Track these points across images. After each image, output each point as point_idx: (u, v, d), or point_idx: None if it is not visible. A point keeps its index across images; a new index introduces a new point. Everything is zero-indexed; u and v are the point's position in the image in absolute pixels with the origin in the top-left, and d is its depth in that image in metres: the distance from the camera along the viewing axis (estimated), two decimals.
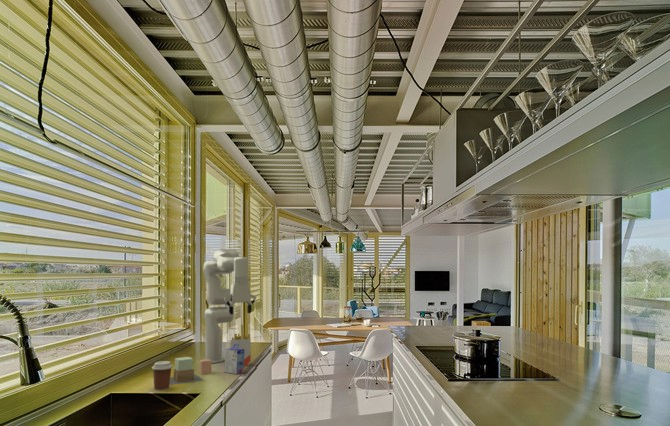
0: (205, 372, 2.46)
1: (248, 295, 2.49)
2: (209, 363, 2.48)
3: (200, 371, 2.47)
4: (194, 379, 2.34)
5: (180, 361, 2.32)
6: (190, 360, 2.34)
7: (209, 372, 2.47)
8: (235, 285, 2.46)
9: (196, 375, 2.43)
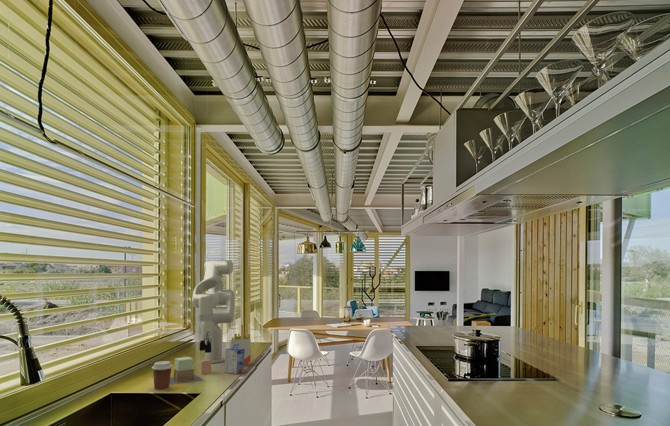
0: (205, 372, 2.46)
1: None
2: (209, 363, 2.48)
3: (200, 371, 2.47)
4: (194, 379, 2.34)
5: (180, 361, 2.32)
6: (190, 360, 2.34)
7: (209, 372, 2.47)
8: (211, 322, 2.49)
9: (196, 375, 2.43)
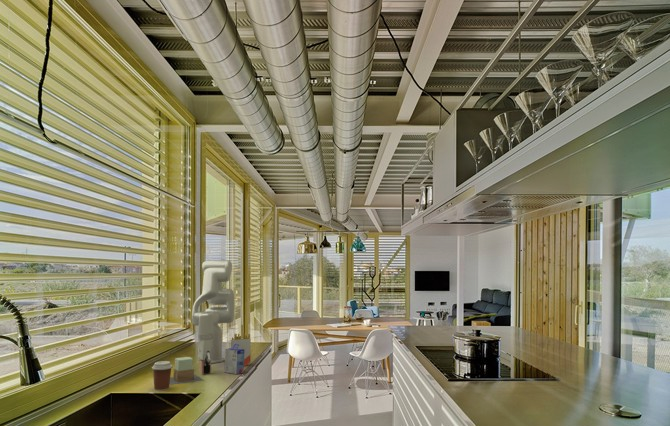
0: None
1: None
2: None
3: (200, 371, 2.47)
4: (194, 379, 2.34)
5: (180, 361, 2.32)
6: (190, 360, 2.34)
7: None
8: None
9: (196, 375, 2.43)
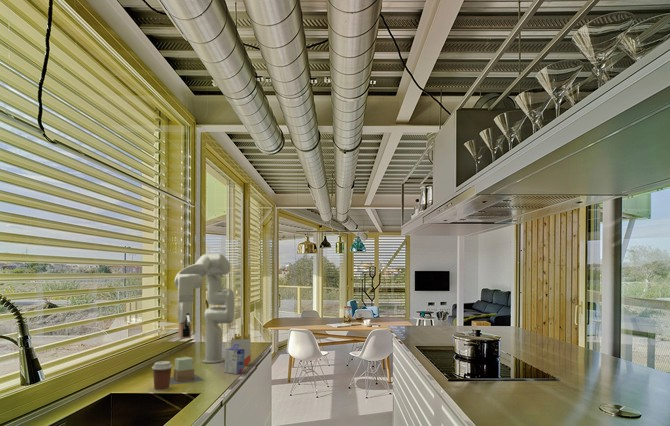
0: None
1: None
2: None
3: (179, 334, 2.36)
4: (194, 379, 2.34)
5: (180, 361, 2.32)
6: (190, 360, 2.34)
7: None
8: (191, 304, 2.38)
9: (196, 375, 2.43)
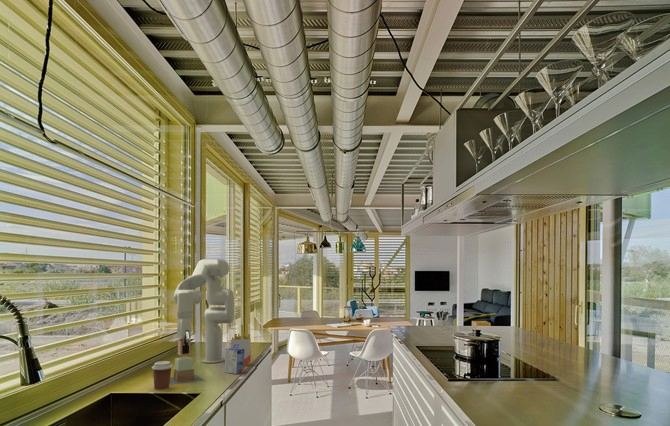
0: None
1: None
2: None
3: (179, 351, 2.35)
4: (194, 379, 2.34)
5: (180, 361, 2.32)
6: (190, 360, 2.34)
7: None
8: (190, 320, 2.36)
9: (196, 375, 2.43)
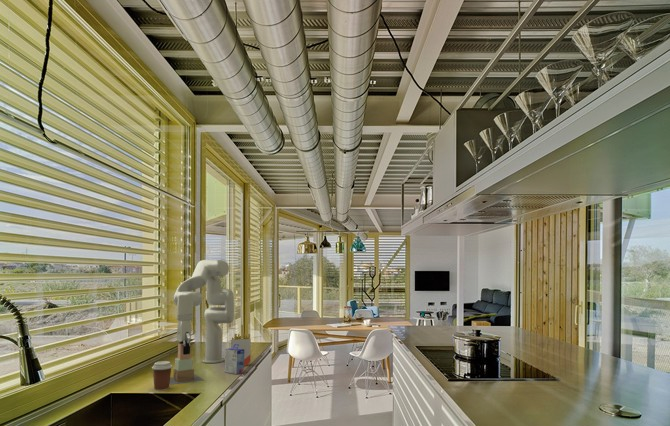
0: (184, 356, 2.34)
1: None
2: None
3: (179, 355, 2.35)
4: (194, 379, 2.34)
5: (180, 361, 2.32)
6: (190, 360, 2.34)
7: (188, 356, 2.35)
8: (190, 322, 2.36)
9: (196, 375, 2.43)
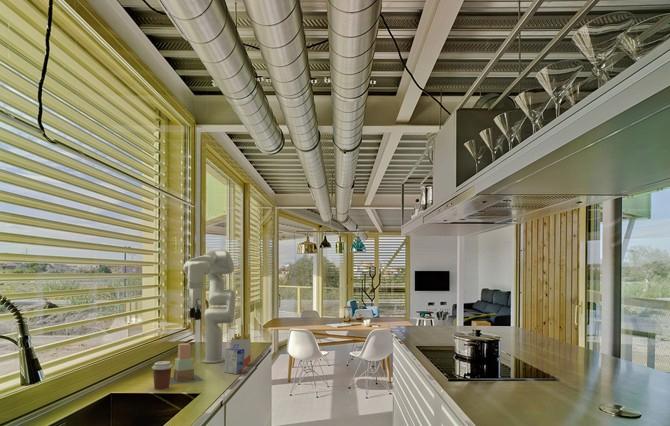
0: (184, 356, 2.34)
1: None
2: (188, 347, 2.36)
3: (179, 355, 2.35)
4: (194, 379, 2.34)
5: (180, 361, 2.32)
6: (190, 360, 2.34)
7: (188, 356, 2.35)
8: None
9: (196, 375, 2.43)
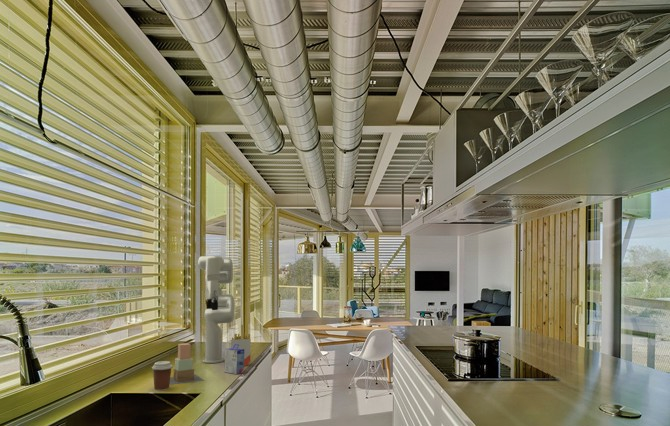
0: (184, 356, 2.34)
1: None
2: (188, 347, 2.36)
3: (179, 355, 2.35)
4: (194, 379, 2.34)
5: (180, 361, 2.32)
6: (190, 360, 2.34)
7: (188, 356, 2.35)
8: (218, 282, 2.63)
9: (196, 375, 2.43)
